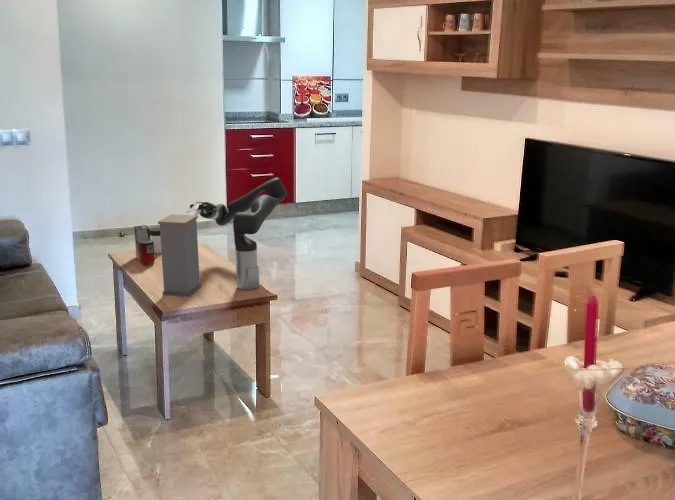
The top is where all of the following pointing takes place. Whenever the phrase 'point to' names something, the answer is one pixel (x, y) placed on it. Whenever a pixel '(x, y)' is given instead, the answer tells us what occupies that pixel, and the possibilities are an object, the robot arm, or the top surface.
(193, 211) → the grey rectangular bar
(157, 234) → the jar
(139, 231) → the coffee box
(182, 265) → the stand
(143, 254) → the soda can
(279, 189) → the robot arm
